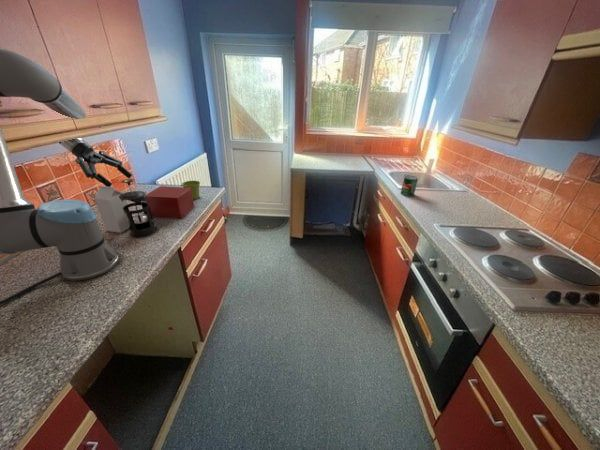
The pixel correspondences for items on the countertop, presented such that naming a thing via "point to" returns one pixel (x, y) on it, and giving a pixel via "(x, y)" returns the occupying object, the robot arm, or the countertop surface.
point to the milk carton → (112, 209)
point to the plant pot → (193, 188)
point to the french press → (138, 220)
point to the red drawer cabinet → (170, 202)
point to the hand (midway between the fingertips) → (121, 181)
